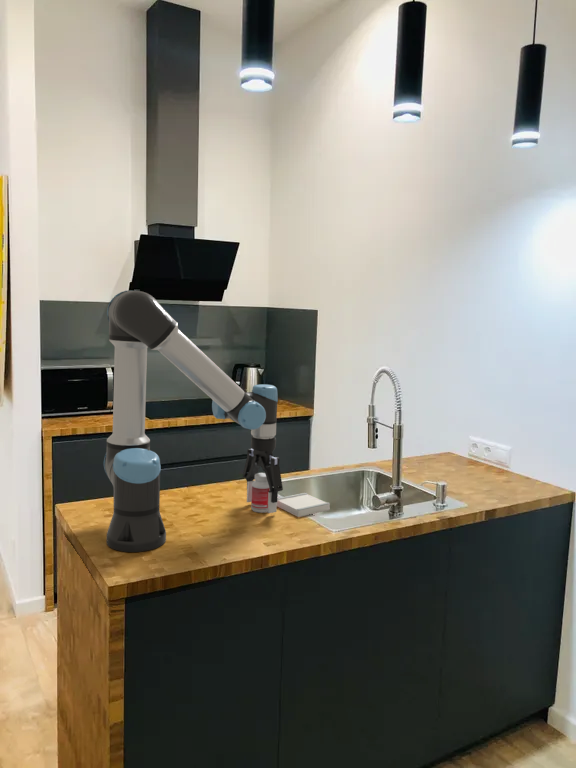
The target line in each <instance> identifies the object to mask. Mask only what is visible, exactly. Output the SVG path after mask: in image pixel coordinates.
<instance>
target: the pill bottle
mask: <svg viewBox="0 0 576 768" xmlns="http://www.w3.org/2000/svg"><path fill="white" fill-rule="evenodd" d="M253 481H254V480H253ZM268 491H270V488H269V485H268V481H267V478H266V474H265V472H257V473H256V474H255V481H254V482H253V483H252V499H251V502H250V503H251V504H250V505H251V506H250V508H251V510H252V511H253V512H255V513H268Z"/></svg>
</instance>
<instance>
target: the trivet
mask: <svg viewBox="0 0 576 768" xmlns="http://www.w3.org/2000/svg"><path fill="white" fill-rule="evenodd" d="M277 498H278V499H277V508H279V509H282V510H284V511H285V512H287V513H289V514H290V515H291V514H292V515H293V516H295V517H297V518H301V517H306V516H309V514H310V515H315V514H318V513H324V512H327V511H330V506H331V504H330V502H327V501H324V500H321V499H320V498H317V497H315V496H312V495H310V494H309V493H307V492H301V493H297V494H292V495H286V496H281V497H277Z"/></svg>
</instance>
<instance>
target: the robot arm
mask: <svg viewBox="0 0 576 768" xmlns="http://www.w3.org/2000/svg"><path fill="white" fill-rule="evenodd" d="M106 310H107V311H106V316H107V320H108V322H109V325H108V329H109V330H108V336H109V337H108V340H109V342H110V343H111V344H112V345H113V347H114V359H113V360H114V361H113V363H114V364H113V365H114V367H113V369H114V370H113V401H112V402H113V409H112V411H113V413H112V432H111V433H112V434H111V435H109V436H108V438H106V452H105V455H104V459H103V468H104V472H105V474H106V476H107V478H108V479H109V481H110V482H111V484H112V487H113V512H112V513H113V514H112V516H111V520H110V522H109V526H108V529H107V531H106V545H107V546H108V547H109V548H110V549H112V550H115V551H120V552H127V553H137V552H138V553H139V552H140V553H141V552H146V551H151V550H155V549H157V548H159V547H161V546H163V545H164V544H165V543H166V541H167V530H166V528H165V527H166V526H165V524H164V521H163V518H162V515H161V511H160V505H161V504H160V500H161V499H160V497H161V496H160V495H161V494H160V493H161V490H160V489H161V470H162V469H161V467H162V466H161V459H160V456H159V455H158V454H157V453H156V452H155V451H153V450H151V439H150V438H149V437H148V435H146V433H145V432H146V400H147V370H148V369H147V367H148V365H147V364H148V348H149V349H150V350H151V351H158V352H159V353H160V354H161V355H162V356H163V357H164V358H166V359H167V360H168V361H169V362H170V364H172V365H173V366H174V367H175V368H177V369H178V370H179V371H180V372H181V373H182V374H183V375H184V376H185V377H187V378H188V380H190V381H191V382H192V383H193V384H195V386H197V387H198V388H199V389H200V390H201V391H202V392H203V393H204V394H205V395H207V397H209V398H210V399H211V400H212V401H211V402H212V403H211V410H212V414H213V417H214V418H215V419H217V420H218V419H220V420H227V419H230V420H231V421H233V422H235V423H236V424H238V425H240V426H241V427H242V428H244V429H247V430H251V431H250V434H251V437H250V448H247V451H246V453H247V454H246V460H245V463H244V468H243V471H242V472H243V473H242V478H245V481H246V503H251V499H252V483H253V482H254V481H255V474H256V473H259V470H260V468H262V471H263V472H264V473H265V474H266V478H267V481H268V485H269V488H270V491H268V512H267V513H268V514H271V513H272V514H273V513H277V511H278V510H277V508H278V507H277V499H278V498H279V497H278V495H279V494H278V493H279V492H282V491H283V490H284V487H283V481H282V475H281V469H280V457H279V456H277V457H276V456H275V457H274V455H273V452H274V451H275V449H276V447H277V446H276V445H277V438H276V435H277V418H278V417H277V416H278V414H277V413H278V400H279V399H278V397H279V396H278V388H277V387H276V386H275V385H273V384H267V383H266V384H254V385H253V387H252V390H251V391H249V392H245V390H244V389H243V388H241V387H240V386H239V385H238V384H237V383H236V382H235V381H234V380H233V379H232V378H231V377H230V376H229V375H228V374H227V373H225V371H224V370H223V369H222V368H220V367H219V366H218V365H217V364H216V363H215V362H214V361H213V360H212V359H211V358H210V357H209V356H207V355H206V353H204V352H203V351H202V349H200V348H199V347H198V346H197V345H196V344H195V343H194V342H193V341H192V340H191V339H189V338H188V336H186V335H185V334H184V333H183V332H182V331H181V330H180V329H179V325H178V323H179V322H177V321H176V320H175V319H174V318H173V317H172V316H171V315H170V314H169V313H168V311H167V310H165V308H164V307H163V306H162V305H161V304H160V303H159V301H158V300H157V299H156V298H155V297H153V295H151V294H149V293H148V292H144V291H141V290H140V291H139V290H130V289H129V290H124V291H121V292H119V293H116V295H114V297H112V298H111V300H110V301H109V304H108V305H107V308H106Z"/></svg>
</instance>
